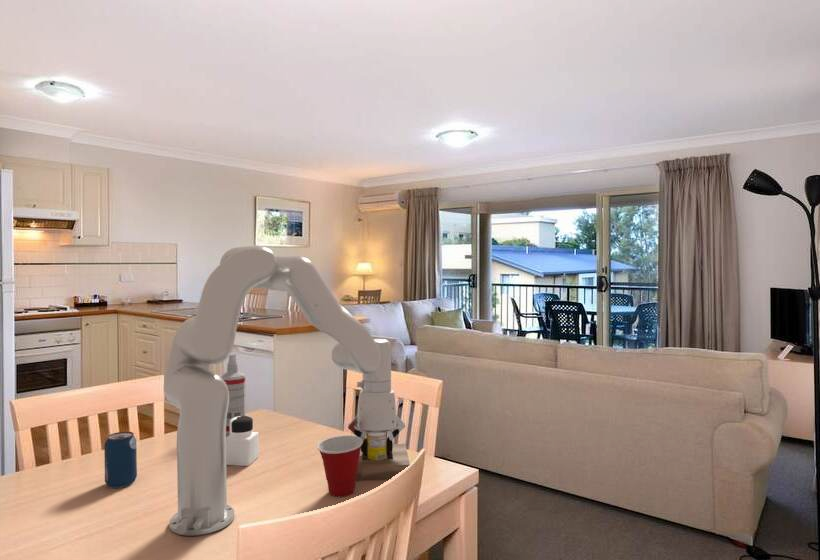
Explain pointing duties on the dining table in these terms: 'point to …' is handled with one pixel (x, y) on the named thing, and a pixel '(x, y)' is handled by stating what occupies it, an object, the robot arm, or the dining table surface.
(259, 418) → the dining table surface
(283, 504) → the dining table surface
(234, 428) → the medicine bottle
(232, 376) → the spray bottle
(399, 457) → the square bottle holder
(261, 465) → the dining table surface
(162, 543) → the dining table surface
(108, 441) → the soda can
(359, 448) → the plastic cup
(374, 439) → the supplement bottle
